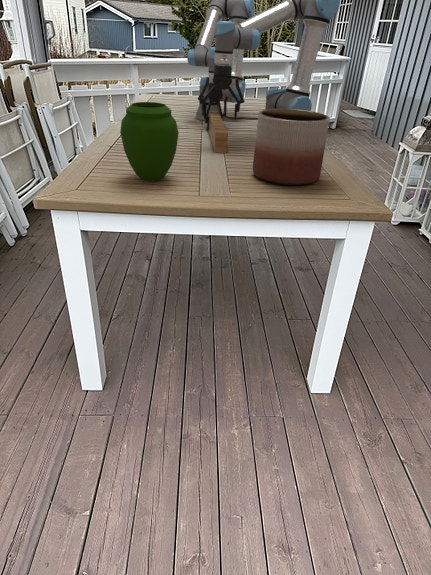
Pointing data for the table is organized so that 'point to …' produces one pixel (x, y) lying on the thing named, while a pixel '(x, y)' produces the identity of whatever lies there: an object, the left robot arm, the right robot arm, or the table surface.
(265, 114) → the planter
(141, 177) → the vase
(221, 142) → the beam
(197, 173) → the table surface
